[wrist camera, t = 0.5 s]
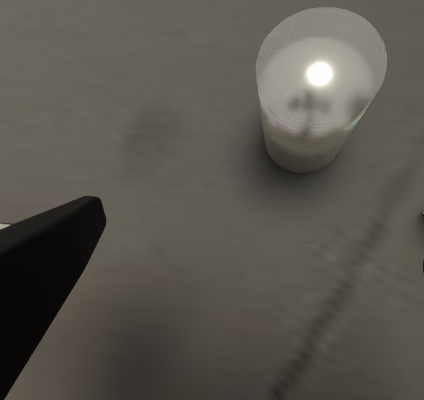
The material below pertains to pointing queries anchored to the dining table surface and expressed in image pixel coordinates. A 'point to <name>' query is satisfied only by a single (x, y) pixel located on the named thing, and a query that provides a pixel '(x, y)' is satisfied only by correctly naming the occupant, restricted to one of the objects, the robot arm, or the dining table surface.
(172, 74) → the dining table surface
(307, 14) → the can
